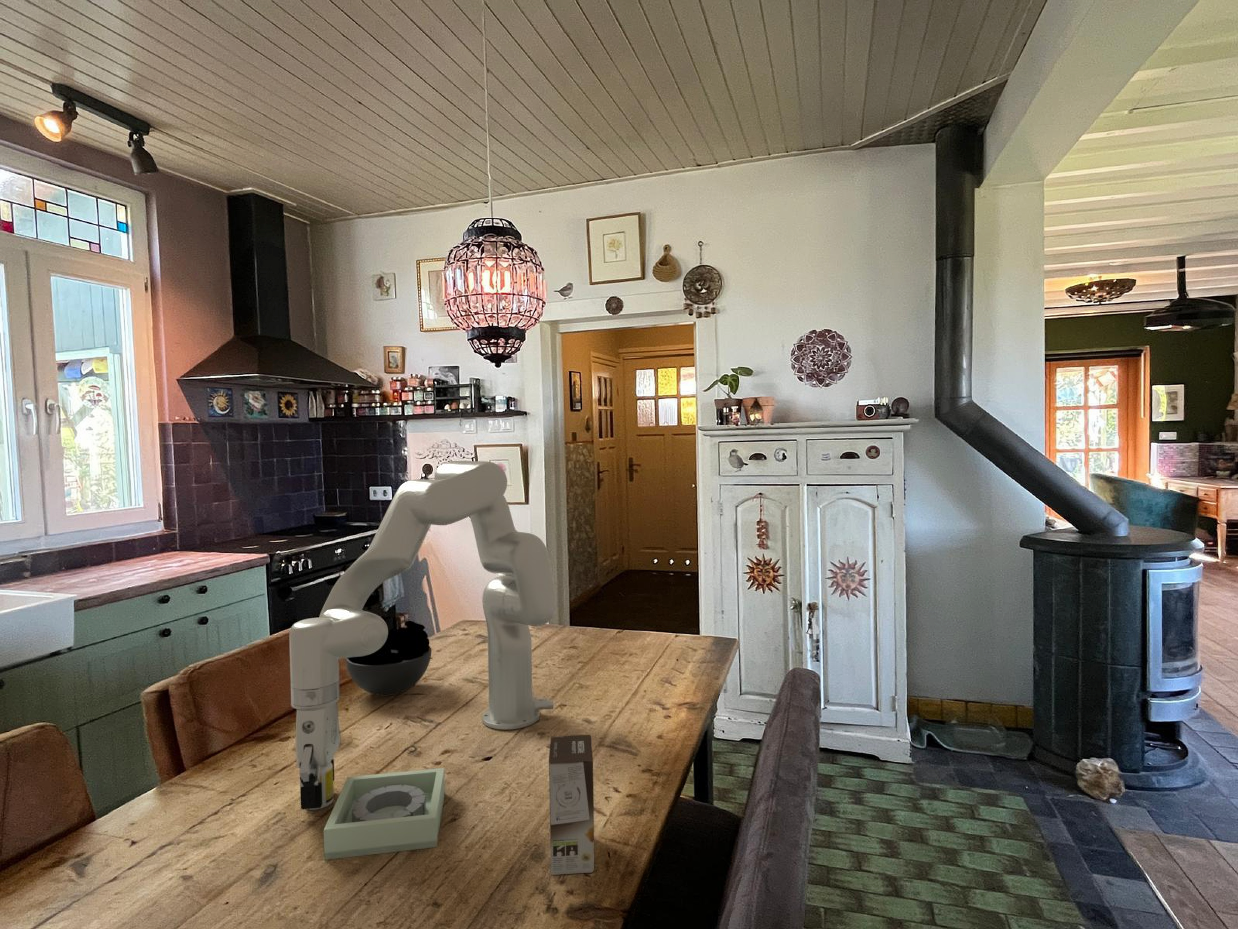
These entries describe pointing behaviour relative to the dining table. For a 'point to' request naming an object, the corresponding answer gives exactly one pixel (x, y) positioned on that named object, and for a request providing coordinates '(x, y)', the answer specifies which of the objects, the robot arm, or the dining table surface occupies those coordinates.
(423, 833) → the socket box
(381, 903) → the dining table surface
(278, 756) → the dining table surface
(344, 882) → the dining table surface
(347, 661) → the bowl of black rocks
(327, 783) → the supplement bottle
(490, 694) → the robot arm
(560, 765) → the coffee box
